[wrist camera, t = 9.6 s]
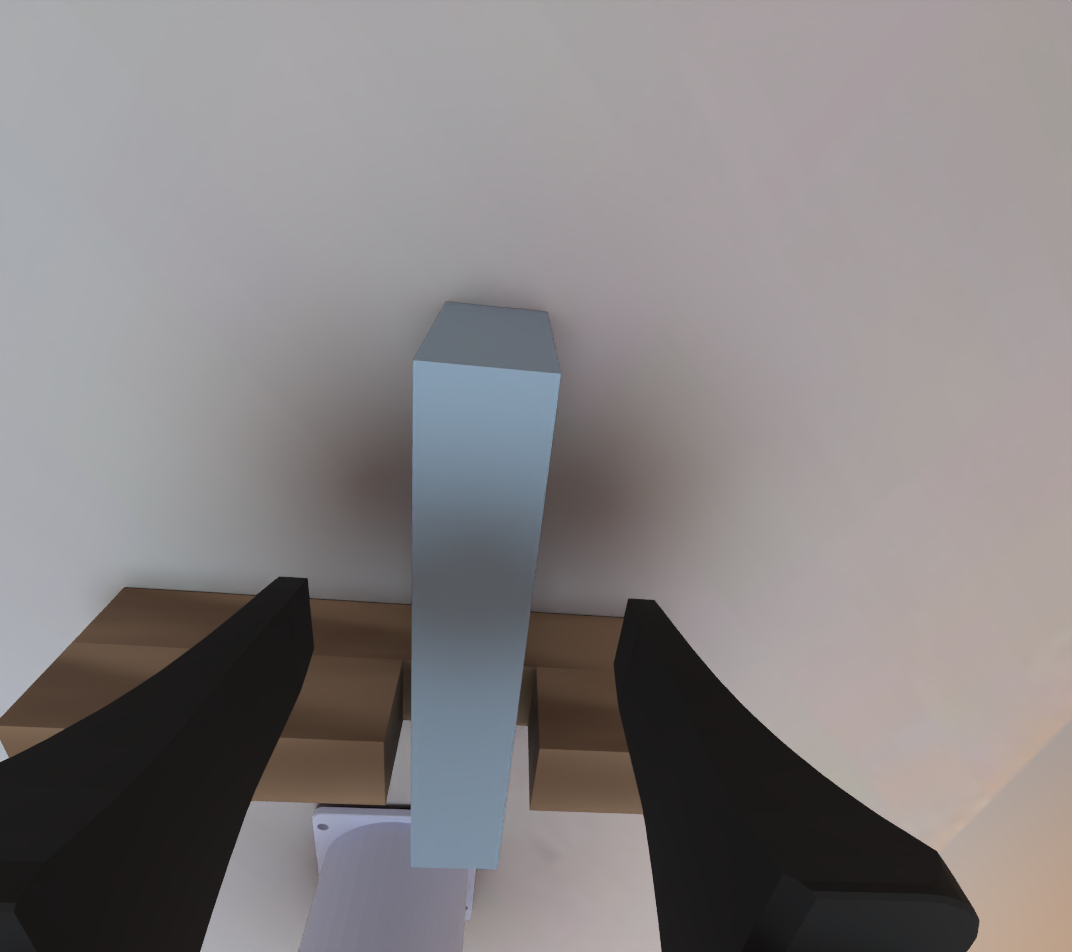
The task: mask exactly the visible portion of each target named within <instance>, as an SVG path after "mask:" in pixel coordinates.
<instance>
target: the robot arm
mask: <svg viewBox="0 0 1072 952" xmlns="http://www.w3.org/2000/svg"><path fill="white" fill-rule="evenodd" d="M313 651H314V640H313V630H312V619H311V609H310V599H309V589H308V579H307V578H294V577H278V578H277V579H276V580H274V581H273V582H272V583H271V584H269V585H268V586H267V587H266V588H264V589H263V590H262V591H261V592H260V593H259V594H257V595H256V596H255V597H254V598H253V599H251V600H250V601H249V602H248V603H247V604H245V605H244V606H243V607H242V608H241V609H239V610H238V611H237V612H236V613H235V614H233V615H232V616H231V617H230V618H229V619H227V620H226V621H225V622H224V623H222V624H221V625H220V626H219V627H217V628H216V629H215V630H214V631H212V632H211V633H210V634H209V635H207V636H206V637H205V638H204V639H202V640H201V641H200V642H199V643H197V644H196V645H195V646H193V647H192V648H191V649H189V650H188V651H187V652H185V653H184V654H182V655H181V656H180V657H178V658H177V659H176V660H174V661H173V662H172V663H170V664H169V665H168V666H166V667H165V668H164V669H162V670H161V671H159V672H158V673H156V674H155V675H153V676H152V677H150V678H149V679H147V680H146V681H144V682H143V683H141V684H140V685H138V686H137V687H135V688H134V689H132V690H130V691H129V692H127V693H126V694H124V695H122V696H121V697H119V698H118V699H116V700H115V701H113V702H111V703H110V704H108V705H106V706H105V707H103V708H101V709H100V710H98V711H96V712H94V713H93V714H91V715H89V716H87V717H85V718H84V719H82V720H80V721H78V722H76V723H75V724H73V725H71V726H69V727H67V728H66V729H64V730H62V731H60V732H58V733H57V734H55V735H53V736H51V737H49V738H48V739H46V740H44V741H42V742H40V743H38V744H36V745H34V746H32V747H30V748H28V749H26V750H24V751H22V752H20V753H18V754H16V755H14V756H12V757H10V758H8V759H6V760H4V761H2V762H0V952H200V950H201V947H202V944H203V941H204V937H205V934H206V931H207V928H208V924H209V921H210V918H211V915H212V912H213V909H214V906H215V903H216V900H217V897H218V894H219V891H220V888H221V885H222V882H223V879H224V876H225V873H226V870H227V866H228V863H229V860H230V858H231V855H232V852H233V849H234V846H235V843H236V841H237V838H238V835H239V832H240V829H241V826H242V823H243V821H244V818H245V815H246V812H247V810H248V807H249V805H250V802H251V800H252V797H253V795H254V793H255V790H256V788H257V786H258V784H259V781H260V779H261V777H262V775H263V773H264V771H265V768H266V766H267V764H268V762H269V760H270V758H271V755H272V753H273V751H274V749H275V747H276V745H277V742H278V740H279V738H280V736H281V734H282V732H283V729H284V727H285V725H286V723H287V721H288V718H289V716H290V714H291V712H292V710H293V707H294V705H295V703H296V701H297V698H298V696H299V694H300V692H301V689H302V686H303V683H304V680H305V677H306V674H307V670H308V667H309V664H310V661H311V657H312V654H313ZM614 674H615V684H616V692H617V700H618V708H619V712H620V716H621V721H622V725H623V729H624V734H625V738H626V742H627V746H628V750H629V755H630V759H631V763H632V767H633V771H634V775H635V779H636V784H637V788H638V792H639V796H640V800H641V805H642V810H643V815H644V820H645V826H646V832H647V839H648V846H649V853H650V861H651V868H652V875H653V883H654V891H655V899H656V907H657V914H658V922H659V931H660V940H661V949H662V952H967V951H968V949H969V948H970V947H971V945H972V944H973V942H974V941H975V939H976V937H977V933H978V927H979V918H978V916H977V914H976V912H975V910H974V909H973V907H972V905H971V903H970V902H969V900H968V899H967V897H966V895H965V894H964V892H963V891H962V889H961V888H960V886H959V884H958V883H957V881H956V879H955V878H954V876H953V875H952V873H951V871H950V870H949V868H948V867H947V865H946V864H945V862H944V861H943V860H942V858H941V857H940V855H939V854H938V852H937V851H936V850H934V849H932V848H931V847H929V846H928V845H926V844H924V843H923V842H921V841H920V840H918V839H916V838H915V837H913V836H912V835H910V834H908V833H907V832H905V831H904V830H902V829H900V828H899V827H897V826H896V825H894V824H892V823H891V822H889V821H888V820H886V819H884V818H883V817H881V816H880V815H878V814H877V813H875V812H874V811H872V810H871V809H869V808H868V807H867V806H865V805H864V804H862V803H861V802H859V801H858V800H857V799H855V798H854V797H852V796H851V795H849V794H848V793H847V792H845V791H844V790H842V789H841V788H840V787H838V786H837V785H836V784H834V783H833V782H832V781H830V780H829V779H828V778H826V777H825V776H824V775H822V774H821V773H820V772H818V771H817V770H816V769H815V768H813V767H812V766H811V765H810V764H808V763H807V762H806V761H805V760H803V759H802V758H801V757H800V756H799V755H797V754H796V753H795V752H794V751H792V750H791V749H790V748H789V747H788V746H787V745H785V744H784V743H783V742H782V741H781V740H780V739H778V738H777V737H776V736H775V735H774V734H773V733H772V732H771V731H770V730H769V729H767V728H766V727H765V726H764V725H763V724H762V723H761V722H760V721H759V720H758V719H757V718H756V717H754V716H753V715H752V714H751V713H750V712H749V711H748V710H747V709H746V708H745V707H744V706H743V705H742V704H741V703H740V702H739V701H738V700H737V699H736V697H735V696H734V695H733V694H732V693H731V692H730V691H729V690H728V689H727V688H726V687H725V686H724V685H723V684H722V683H721V682H720V680H719V679H718V678H717V677H716V676H715V675H714V674H713V672H712V671H711V670H710V669H709V668H708V667H707V665H706V664H705V663H704V662H703V661H702V659H701V658H700V657H699V656H698V655H697V654H696V652H695V651H694V650H693V649H692V647H691V646H690V645H689V644H688V642H687V641H686V640H685V639H684V637H683V636H682V635H681V634H680V632H679V631H678V630H677V628H676V627H675V626H674V625H673V623H672V622H671V621H670V619H669V618H668V617H667V616H666V614H665V613H664V612H663V610H662V609H661V608H660V607H659V605H658V604H657V603H656V602H655V600H644V599H628V602H627V607H626V611H625V616H624V620H623V624H622V629H621V633H620V638H619V642H618V646H617V651H616V655H615V660H614ZM312 824H313V832H314V840H315V848H316V856H317V864H318V872H319V879H318V883H317V887H316V890H315V894H314V897H313V901H312V904H311V908H310V912H309V915H308V919H307V922H306V926H305V929H304V933H303V936H302V940H301V944H300V947H299V951H298V952H463V938H464V923H465V921H468V920H469V919H470V918H471V914H472V904H473V894H474V884H475V874H476V869H457V868H420V867H411V810H406V809H376V808H347V807H319V808H317V809H316V810H315V811H314V813H313V817H312Z"/></svg>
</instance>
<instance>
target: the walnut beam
mask: <svg viewBox="0 0 1072 952" xmlns="http://www.w3.org/2000/svg"><path fill="white" fill-rule="evenodd" d="M254 597H255V596H253V595H237V594H220V593H204V592H187V591H171V590H154V589H138V588H123V590H122V591H121V592H120V593H119V594H118V595H117V596H116V597H115V598H114V599H113V600H112V601H111V602H110V603H109V604H108V605H107V606H106V607H105V608H104V610H103V611H102V612H101V613H100V614H99V615H98V616H97V617H96V618H95V619H94V620H93V621H92V622H91V623H90V624H89V625H88V626H87V627H86V628H85V630H84V631H83V632H82V633H81V634H80V635H79V636H78V637H77V638H76V639H75V640H74V641H73V642H72V643H71V644H70V645H69V646H68V647H67V648H66V650H65V651H64V652H63V653H62V654H61V655H60V656H59V657H58V658H57V659H56V660H55V661H54V662H53V663H52V664H51V665H50V666H49V667H48V668H47V670H46V671H45V672H44V673H43V674H42V675H41V676H40V677H39V678H38V679H37V680H36V681H35V682H34V683H33V684H32V685H31V686H30V687H29V688H28V690H27V691H26V692H25V693H24V694H23V695H22V696H21V697H20V698H19V699H18V700H17V701H16V702H15V703H14V704H13V705H12V706H11V707H10V708H9V710H8V711H7V712H6V713H5V714H4V715H3V716H2V717H1V718H0V740H1V742H2V744H3V746H4V748H5V750H6V752H7V755H8V757H9V758H10V757H12V756H14V755H16V754H18V753H20V752H22V751H24V750H26V749H28V748H30V747H32V746H34V745H36V744H38V743H40V742H42V741H44V740H46V739H48V738H49V737H51V736H53V735H55V734H57V733H58V732H60V731H62V730H64V729H66V728H67V727H69V726H71V725H73V724H75V723H76V722H78V721H80V720H82V719H84V718H85V717H87V716H89V715H91V714H93V713H94V712H96V711H98V710H100V709H101V708H103V707H105V706H106V705H108V704H110V703H111V702H113V701H115V700H116V699H118V698H119V697H121V696H122V695H124V694H126V693H127V692H129V691H130V690H132V689H134V688H135V687H137V686H138V685H140V684H141V683H143V682H144V681H146V680H147V679H149V678H150V677H152V676H153V675H155V674H156V673H158V672H159V671H161V670H162V669H164V668H165V667H166V666H168V665H169V664H170V663H172V662H173V661H174V660H176V659H177V658H178V657H180V656H181V655H182V654H184V653H185V652H187V651H188V650H189V649H191V648H192V647H193V646H195V645H196V644H197V643H199V642H200V641H201V640H202V639H204V638H205V637H206V636H207V635H209V634H210V633H211V632H212V631H214V630H215V629H216V628H217V627H219V626H220V625H221V624H222V623H224V622H225V621H226V620H227V619H229V618H230V617H231V616H232V615H233V614H235V613H236V612H237V611H238V610H239V609H241V608H242V607H243V606H244V605H245V604H247V603H248V602H249V601H250V600H251V599H253V598H254ZM310 609H311V619H312V630H313V640H314V651H313V654H312V657H311V661H310V664H309V667H308V670H307V674H306V677H305V680H304V683H303V686H302V689H301V692H300V694H299V696H298V698H297V701H296V703H295V705H294V707H293V710H292V712H291V714H290V716H289V718H288V721H287V723H286V725H285V727H284V729H283V732H282V734H281V736H280V738H279V740H278V742H277V745H276V747H275V749H274V751H273V753H272V755H271V758H270V760H269V762H268V764H267V766H266V768H265V771H264V773H263V775H262V777H261V779H260V781H259V784H258V786H257V788H256V790H255V793H254V795H253V797H252V800H251V801H275V802H305V803H334V804H363V805H385V804H386V799H387V794H388V790H389V785H390V780H391V775H392V770H393V766H394V761H395V756H396V751H397V746H398V742H399V737H400V732H401V727H402V722H403V720H411V671H412V605H402V604H385V603H369V602H352V601H336V600H319V599H310ZM623 620H624V618H617V617H600V616H584V615H567V614H551V613H534V612H530V619H529V626H528V634H527V642H526V650H525V658H524V665H523V673H522V681H521V689H520V696H519V704H518V712H517V720H516V725H525V726H528V749H529V795H530V810H539V811H568V812H598V813H627V814H643V810H642V805H641V800H640V796H639V792H638V788H637V784H636V779H635V775H634V771H633V767H632V763H631V759H630V755H629V750H628V746H627V742H626V738H625V734H624V729H623V725H622V721H621V716H620V712H619V708H618V700H617V692H616V684H615V674H614V660H615V655H616V651H617V646H618V642H619V638H620V633H621V629H622V624H623Z"/></svg>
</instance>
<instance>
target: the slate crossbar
mask: <svg viewBox="0 0 1072 952" xmlns="http://www.w3.org/2000/svg"><path fill="white" fill-rule="evenodd" d="M560 378H561V372H560V367H559V363H558V358H557V354H556V349H555V344H554V340H553V335H552V331H551V326H550V322H549V317H548V313H547V312H544V311H534V310H524V309H514V308H504V307H494V306H484V305H474V304H464V303H454V302H445V304H444V306H443V308H442V310H441V311H440V313H439V315H438V317H437V318H436V320H435V322H434V324H433V325H432V327H431V329H430V331H429V333H428V334H427V336H426V338H425V340H424V341H423V343H422V345H421V347H420V349H419V350H418V352H417V354H416V356H415V357H414V359H413V454H412V671H411V867H420V868H457V869H493V870H497V867H498V860H499V852H500V844H501V836H502V829H503V821H504V813H505V805H506V797H507V790H508V782H509V774H510V766H511V759H512V751H513V743H514V735H515V727H516V720H517V712H518V704H519V696H520V689H521V681H522V673H523V665H524V658H525V650H526V642H527V634H528V626H529V619H530V611H531V603H532V595H533V588H534V580H535V572H536V564H537V557H538V549H539V541H540V533H541V525H542V518H543V510H544V502H545V494H546V487H547V479H548V471H549V463H550V455H551V448H552V440H553V432H554V424H555V417H556V409H557V401H558V393H559V386H560Z"/></svg>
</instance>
